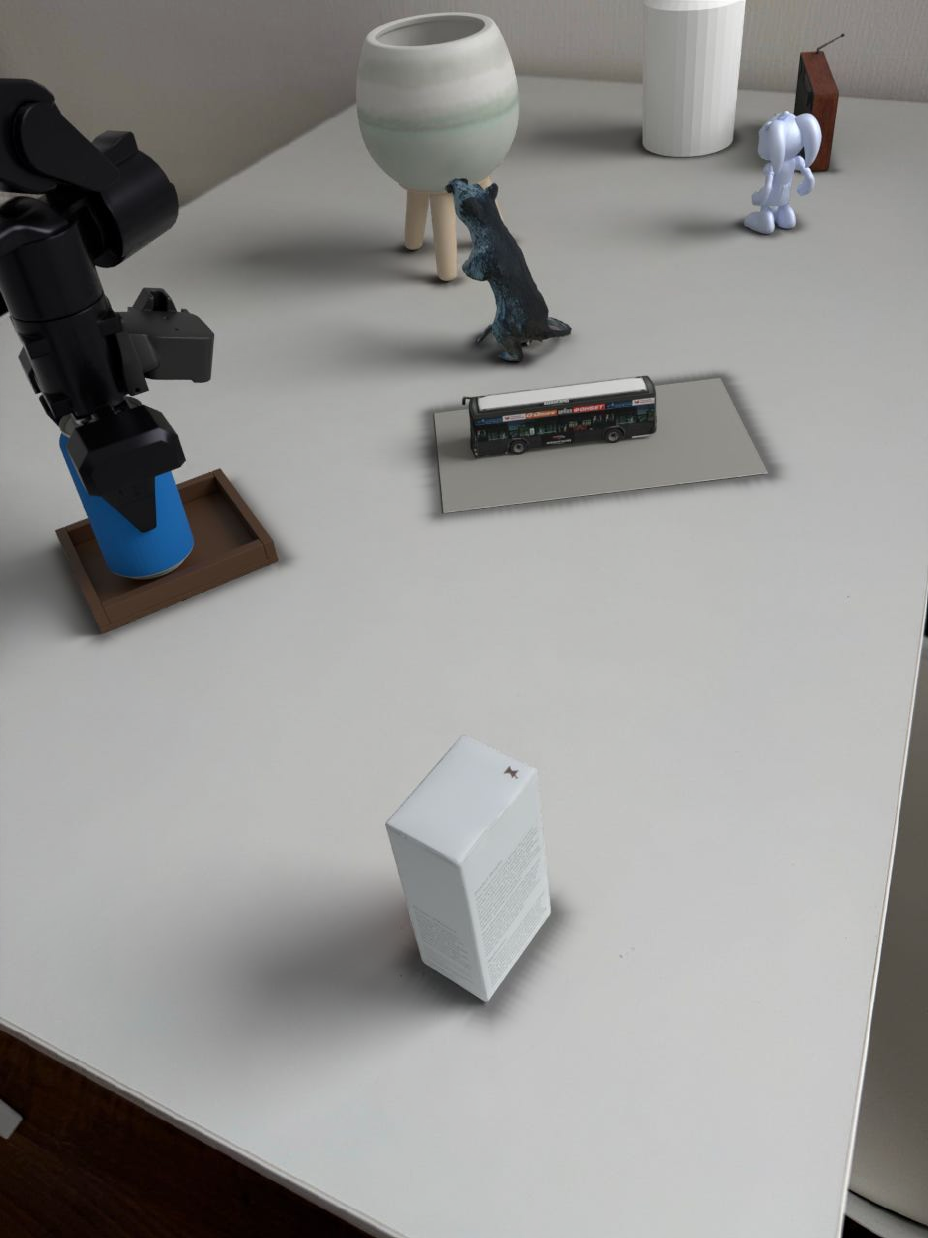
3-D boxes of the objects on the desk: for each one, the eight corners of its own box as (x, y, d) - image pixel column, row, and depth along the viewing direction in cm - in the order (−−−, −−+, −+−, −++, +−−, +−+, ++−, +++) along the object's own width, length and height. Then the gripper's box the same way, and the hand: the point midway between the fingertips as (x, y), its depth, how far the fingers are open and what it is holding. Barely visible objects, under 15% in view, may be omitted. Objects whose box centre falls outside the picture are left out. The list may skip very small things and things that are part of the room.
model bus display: (434, 413, 90) (428, 370, 87) (719, 378, 90) (723, 333, 87) (443, 512, 80) (437, 467, 77) (767, 473, 79) (773, 425, 76)
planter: (446, 304, 105) (418, 63, 90) (352, 263, 115) (312, 39, 100) (558, 249, 112) (549, 17, 97) (461, 215, 122) (439, -1, 107)
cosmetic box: (485, 876, 56) (464, 728, 47) (553, 914, 53) (542, 767, 45) (416, 964, 52) (380, 822, 44) (485, 1008, 50) (461, 867, 42)
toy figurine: (785, 209, 114) (798, 92, 106) (818, 229, 110) (834, 109, 102) (729, 222, 113) (738, 105, 105) (759, 244, 109) (771, 123, 100)
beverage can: (167, 523, 81) (119, 383, 73) (213, 554, 77) (167, 410, 69) (93, 563, 77) (35, 421, 70) (137, 597, 74) (80, 450, 66)
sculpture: (493, 313, 103) (480, 157, 93) (587, 335, 98) (584, 173, 88) (444, 351, 98) (424, 191, 88) (540, 376, 93) (531, 210, 83)
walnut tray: (101, 634, 73) (92, 613, 72) (63, 550, 81) (54, 530, 80) (279, 560, 77) (273, 539, 76) (226, 487, 85) (220, 467, 84)
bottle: (631, 131, 137) (634, -95, 120) (719, 119, 137) (734, -109, 120) (652, 162, 128) (659, -77, 111) (747, 149, 128) (768, -92, 111)
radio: (789, 124, 133) (803, -9, 123) (813, 123, 133) (830, -11, 123) (803, 178, 120) (820, 34, 110) (830, 177, 119) (850, 32, 109)
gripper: (231, 314, 60) (288, 529, 70) (140, 219, 72) (199, 413, 83) (40, 377, 56) (129, 592, 67) (-21, 266, 69) (62, 462, 79)
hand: (135, 506), depth 74 cm, fingers closed on beverage can, 6 cm apart
